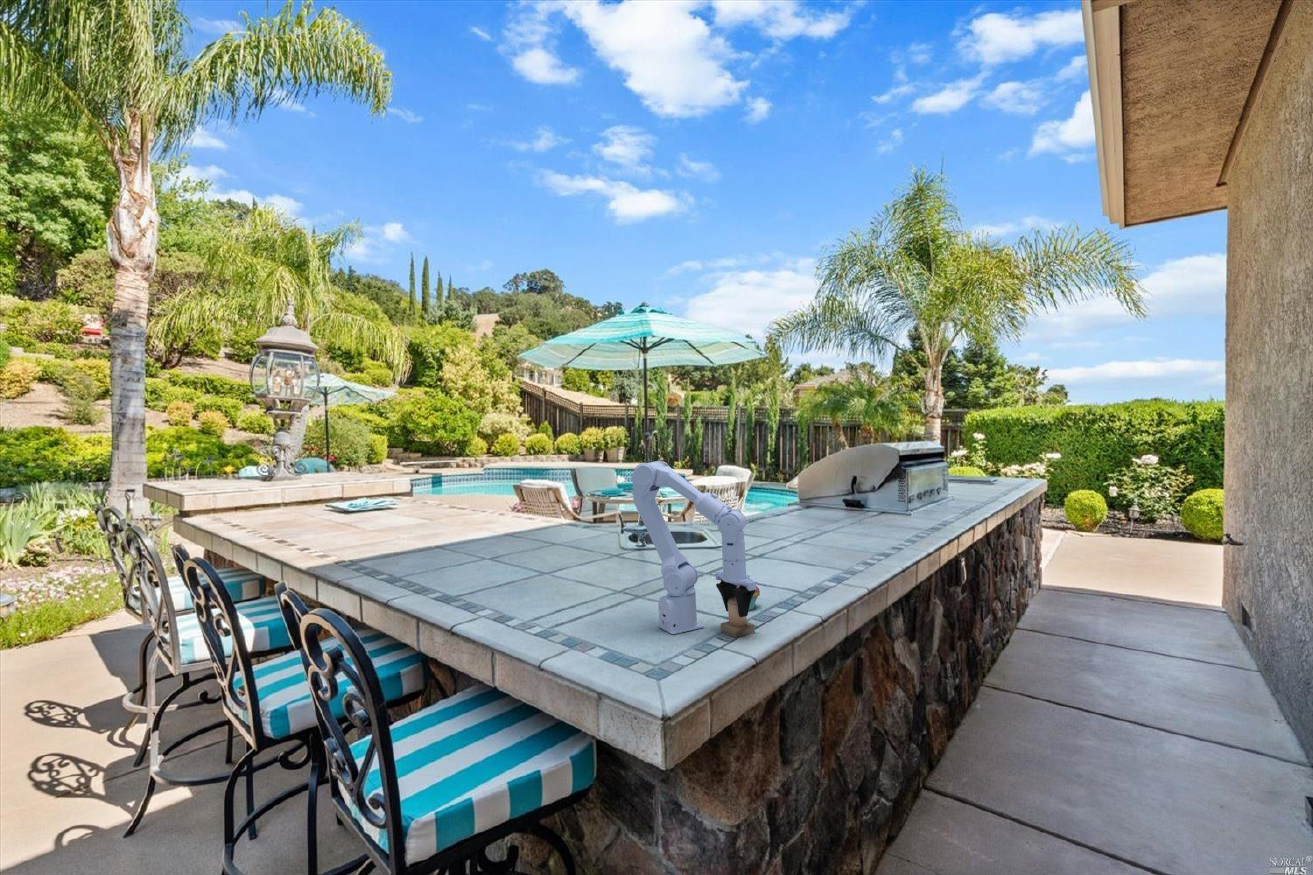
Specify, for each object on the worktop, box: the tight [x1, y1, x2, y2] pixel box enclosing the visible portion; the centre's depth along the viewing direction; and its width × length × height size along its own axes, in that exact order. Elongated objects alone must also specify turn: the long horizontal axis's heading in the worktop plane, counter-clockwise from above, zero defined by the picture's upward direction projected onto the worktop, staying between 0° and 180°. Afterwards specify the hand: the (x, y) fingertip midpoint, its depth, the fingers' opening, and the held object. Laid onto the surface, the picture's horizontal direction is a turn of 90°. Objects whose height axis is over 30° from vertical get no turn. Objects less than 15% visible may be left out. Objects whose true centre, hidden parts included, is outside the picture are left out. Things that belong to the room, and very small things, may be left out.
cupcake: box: [737, 585, 761, 611], centre depth 164 cm, size 9×8×12 cm
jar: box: [727, 597, 748, 627], centre depth 144 cm, size 4×4×6 cm
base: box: [720, 620, 756, 639], centre depth 144 cm, size 6×6×2 cm
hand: (736, 613), depth 144 cm, fingers open, 5 cm apart
